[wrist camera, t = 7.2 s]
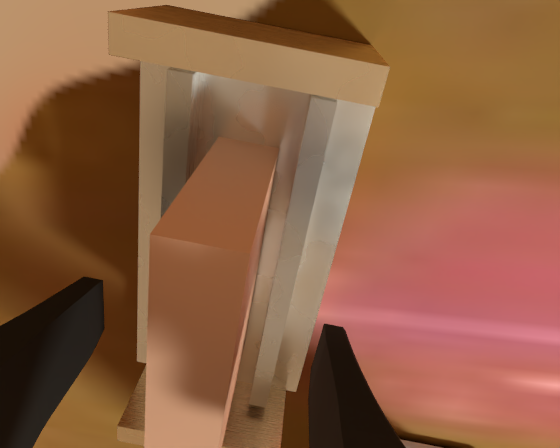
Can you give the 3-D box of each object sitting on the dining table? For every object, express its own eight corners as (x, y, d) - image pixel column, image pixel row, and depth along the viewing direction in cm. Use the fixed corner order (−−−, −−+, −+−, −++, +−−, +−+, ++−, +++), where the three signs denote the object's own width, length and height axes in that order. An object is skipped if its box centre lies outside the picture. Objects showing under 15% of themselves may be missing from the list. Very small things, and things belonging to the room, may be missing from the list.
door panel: (243, 349, 20) (208, 505, 14) (197, 340, 20) (143, 492, 14) (279, 148, 15) (249, 253, 9) (218, 136, 15) (150, 234, 9)
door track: (293, 389, 23) (287, 473, 19) (144, 360, 23) (106, 438, 19) (386, 48, 14) (410, 71, 11) (151, 2, 14) (87, 7, 11)
